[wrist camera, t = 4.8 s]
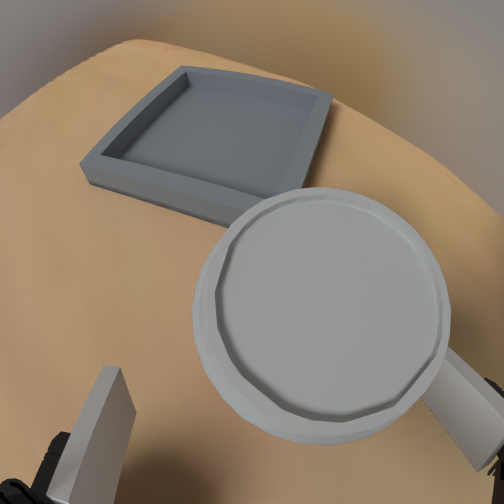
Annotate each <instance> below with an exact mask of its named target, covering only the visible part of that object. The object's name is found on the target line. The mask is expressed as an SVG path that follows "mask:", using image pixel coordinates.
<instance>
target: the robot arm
mask: <svg viewBox="0 0 504 504" xmlns="http://www.w3.org/2000/svg"><path fill="white" fill-rule="evenodd" d="M421 398H422V400H423V401H424V402H425V404H426V405H427V406H428V407H429V409H430V410H431V411H432V413H433V414H434V415H435V417H436V418H437V419H438V420H439V422H440V423H441V424H442V426H443V427H444V428H445V430H446V431H447V432H448V434H449V435H450V436H451V438H452V439H453V440H454V442H455V443H456V444H457V446H458V447H459V448H460V450H461V451H462V452H463V454H464V455H465V457H466V458H467V459H468V461H469V462H470V463H471V465H472V466H473V468H474V469H475V470H476V472H478V471H480V470H481V469H483V468H484V467H486V466H487V465H489V464H490V463H491V461H492V460H493V459H494V457H495V456H496V455H497V456H498V457H499V459H498V460H497V461H496V463H495V464H494V465H493V466H492V468H491V469H490V470H489V471H488V474H487V475H490V474H491V473H492V472H493V470H494V469H495V468H496V470H495V472H494V473H493V475H492V476H495V481H494V490H493V497H492V504H504V391H502V389H501V388H500V387H499V386H498V385H497V384H496V383H495V382H493V381H491V380H489V379H487V378H484V379H483V378H482V377H481V376H480V375H479V374H478V373H477V372H476V371H474V370H473V369H472V368H471V367H470V366H469V365H468V364H467V363H466V362H465V361H464V360H463V359H462V358H460V357H459V356H458V355H457V354H456V353H455V352H454V351H453V350H452V349H451V348H449V347H448V346H447V350H446V354H445V356H444V359H443V362H442V364H441V367H440V369H439V371H438V373H437V375H436V376H435V378H434V379H433V381H432V382H431V384H430V386H429V387H428V389H427V390H426V392H425V393H424V394H423V395H422V396H421ZM136 413H137V412H136V410H135V407H134V405H133V402H132V399H131V397H130V394H129V391H128V388H127V385H126V383H125V380H124V377H123V374H122V371H121V368H120V367H118V366H104V367H103V368H102V370H101V372H100V374H99V376H98V378H97V380H96V382H95V384H94V386H93V388H92V390H91V392H90V394H89V396H88V398H87V400H86V402H85V404H84V407H83V409H82V411H81V413H80V415H79V417H78V419H77V421H76V424H75V426H74V428H73V430H72V432H71V433H67V432H62V431H61V432H60V433H59V434H58V435H57V436H56V437H55V438H54V439H53V440H52V441H51V444H50V446H49V448H48V450H47V451H48V452H46V454H45V456H44V461H42V463H41V465H40V467H39V470H38V472H37V474H36V477H35V479H34V481H33V484H32V486H31V488H29V487H28V486H27V485H26V484H25V483H23V482H22V481H21V480H18V479H15V478H12V479H7V480H5V481H3V482H2V483H1V484H0V504H114V500H115V495H116V491H117V487H118V482H119V478H120V474H121V470H122V466H123V462H124V458H125V454H126V450H127V446H128V442H129V438H130V435H131V431H132V427H133V424H134V420H135V417H136Z"/></svg>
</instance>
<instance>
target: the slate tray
mask: <svg viewBox="0 0 504 504" xmlns="http://www.w3.org/2000/svg"><path fill="white" fill-rule="evenodd" d="M333 95H334V94H331V93H328V92H324V91H321V90H317V89H313V88H310V87H306V86H302V85H298V84H294V83H290V82H285V81H281V80H276V79H271V78H267V77H261V76H256V75H251V74H245V73H239V72H232V71H226V70H218V69H210V68H202V67H192V66H181V67H179V68H178V69H177V70H175V71H174V72H173V73H172V74H170V75H169V76H168V77H167V78H166V79H164V80H163V81H162V82H161V83H160V84H158V85H157V86H156V87H155V88H154V89H153V90H151V91H150V92H149V93H148V94H147V95H146V96H145V97H144V98H143V99H141V100H140V101H139V102H138V103H137V104H136V105H135V106H134V107H133V108H132V109H131V110H130V111H129V112H128V113H126V114H125V115H124V116H123V117H122V118H121V119H120V120H119V121H118V122H117V123H116V124H115V125H114V126H113V127H112V128H111V129H110V130H109V132H108V133H107V134H106V135H105V136H104V137H103V138H102V139H101V140H100V141H99V142H98V143H97V144H96V145H95V147H94V148H93V149H92V150H91V151H90V152H89V153H88V154H87V155H86V157H85V158H84V159H83V160H82V161H81V162H80V164H79V165H80V167H81V168H82V170H83V172H84V174H85V176H86V178H87V180H88V182H89V184H91V185H94V186H97V187H101V188H104V189H107V190H110V191H113V192H117V193H120V194H123V195H126V196H129V197H133V198H136V199H139V200H142V201H145V202H149V203H152V204H155V205H158V206H161V207H164V208H167V209H171V210H174V211H177V212H180V213H183V214H186V215H189V216H192V217H195V218H198V219H202V220H205V221H208V222H211V223H214V224H217V225H220V226H223V227H226V228H229V227H230V225H231V224H232V223H233V222H235V221H236V220H237V219H238V218H239V217H240V216H241V215H242V214H243V213H245V212H246V211H247V210H248V209H250V208H252V207H253V206H255V205H256V204H258V203H259V202H261V201H263V200H265V199H268V198H270V197H273V196H276V195H278V194H281V193H285V192H288V191H291V190H295V189H302V188H304V186H305V183H306V180H307V177H308V174H309V171H310V168H311V165H312V163H313V160H314V157H315V154H316V151H317V148H318V145H319V142H320V139H321V136H322V133H323V130H324V127H325V124H326V121H327V118H328V115H329V112H330V108H331V103H332V99H333Z"/></svg>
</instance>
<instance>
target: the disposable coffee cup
mask: <svg viewBox="0 0 504 504" xmlns="http://www.w3.org/2000/svg"><path fill="white" fill-rule="evenodd" d="M192 318H193V332H194V340H195V343H196V346H197V350H198V353H199V356H200V359H201V362H202V365H203V367H204V370H205V373H206V374H207V376H208V377H209V379H210V380H211V382H212V384H213V385H214V387H215V388H216V390H217V391H218V393H219V394H220V396H221V397H222V398H223V399H224V400H225V401H226V402H227V403H228V404H229V405H230V406H231V407H232V408H233V409H234V410H235V411H236V412H237V413H238V414H239V415H240V416H241V417H242V418H243V419H245V420H247V421H248V422H250V423H252V424H253V425H255V426H257V427H258V428H260V429H262V430H263V431H265V432H267V433H269V434H270V435H273V436H276V437H280V438H283V439H286V440H289V441H293V442H296V443H300V444H313V445H336V444H341V443H346V442H351V441H355V440H360V439H363V438H365V437H367V436H369V435H371V434H374V433H376V432H378V431H380V430H382V429H384V428H386V427H387V426H389V425H390V424H391V423H393V422H394V421H395V420H397V419H398V418H399V417H401V416H402V415H403V414H404V413H405V412H406V411H407V410H408V409H409V408H410V407H411V406H412V405H413V404H414V403H415V402H416V401H417V400H418V399H419V398H420V397H421V396H422V395H423V394H424V393H425V392H426V390H427V389H428V387H429V386H430V384H431V382H432V381H433V379H434V378H435V376H436V375H437V373H438V371H439V369H440V367H441V364H442V362H443V359H444V356H445V354H446V350H447V346H448V341H449V337H450V323H451V307H450V301H449V296H448V290H447V285H446V282H445V279H444V276H443V274H442V271H441V268H440V266H439V263H438V261H437V260H436V258H435V256H434V255H433V253H432V251H431V250H430V248H429V247H428V245H427V243H426V242H425V241H424V239H423V238H422V237H421V236H420V235H419V234H418V232H417V231H416V230H415V229H414V228H413V227H412V226H411V225H410V224H409V223H408V222H407V221H406V220H404V219H403V218H402V217H401V216H399V215H398V214H397V213H395V212H394V211H392V210H391V209H389V208H388V207H386V206H385V205H383V204H381V203H379V202H377V201H375V200H373V199H371V198H369V197H366V196H363V195H360V194H357V193H354V192H351V191H346V190H341V189H336V188H323V187H313V188H302V189H295V190H291V191H288V192H285V193H281V194H278V195H276V196H273V197H270V198H268V199H265V200H263V201H261V202H259V203H258V204H256V205H255V206H253V207H252V208H250V209H248V210H247V211H246V212H245V213H243V214H242V215H241V216H240V217H239V218H238V219H237V220H236V221H235V222H233V223H232V224H231V225H230V227H229V228H228V230H227V231H226V233H225V234H224V235H223V237H222V238H221V239H220V240H219V242H218V243H217V244H216V245H215V246H214V248H213V249H212V250H211V252H210V254H209V255H208V257H207V259H206V261H205V263H204V265H203V267H202V269H201V272H200V275H199V278H198V281H197V284H196V287H195V292H194V301H193V309H192Z"/></svg>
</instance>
